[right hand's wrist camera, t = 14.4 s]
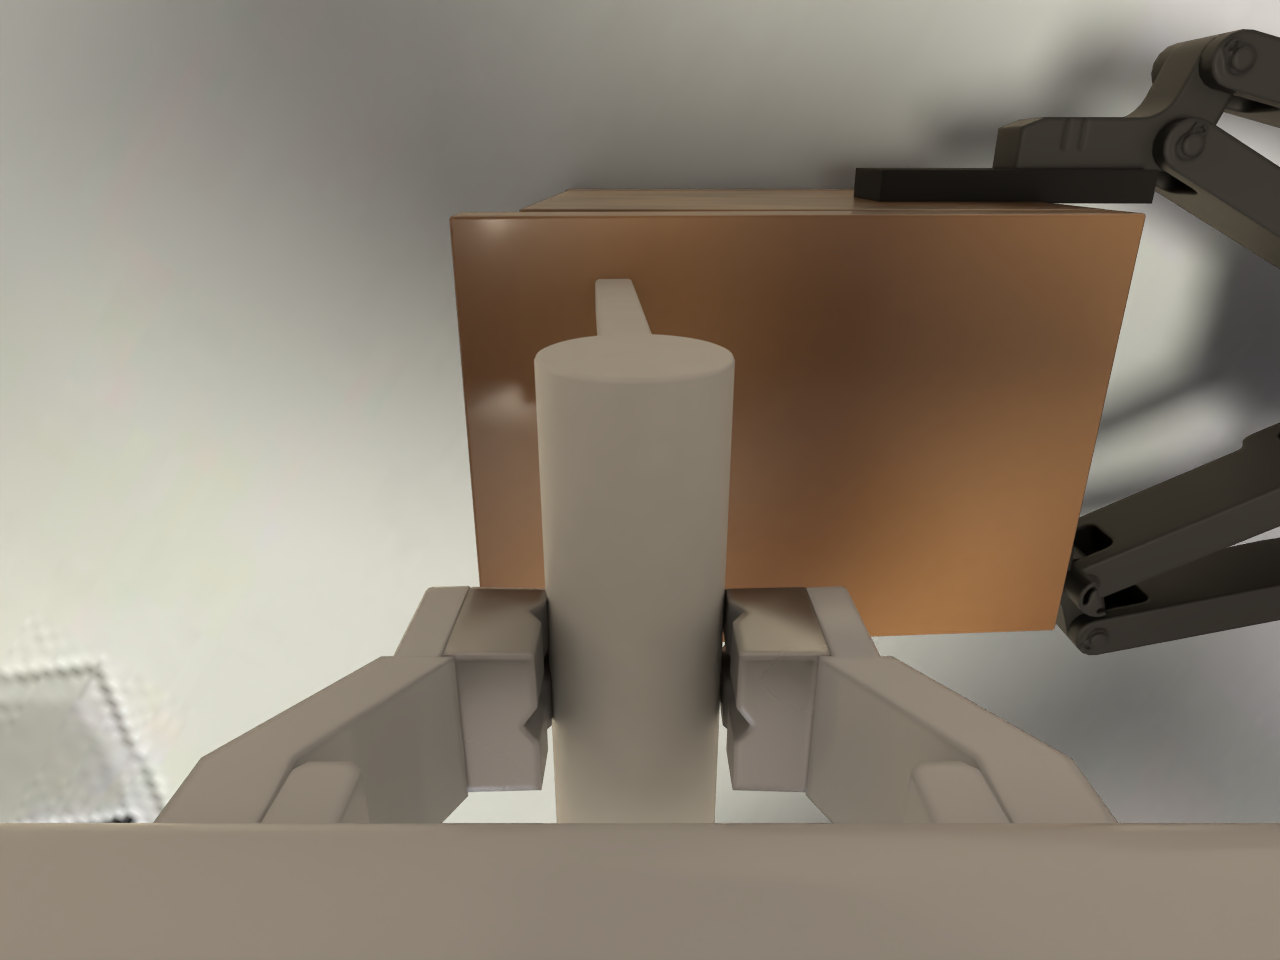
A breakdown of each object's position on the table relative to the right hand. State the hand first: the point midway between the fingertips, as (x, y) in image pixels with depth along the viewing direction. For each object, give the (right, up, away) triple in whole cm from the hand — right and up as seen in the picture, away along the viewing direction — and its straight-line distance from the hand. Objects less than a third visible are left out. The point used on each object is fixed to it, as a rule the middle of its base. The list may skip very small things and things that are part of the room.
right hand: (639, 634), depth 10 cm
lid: (+3, +3, +8) cm, 9 cm away
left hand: (+6, +5, +12) cm, 14 cm away
